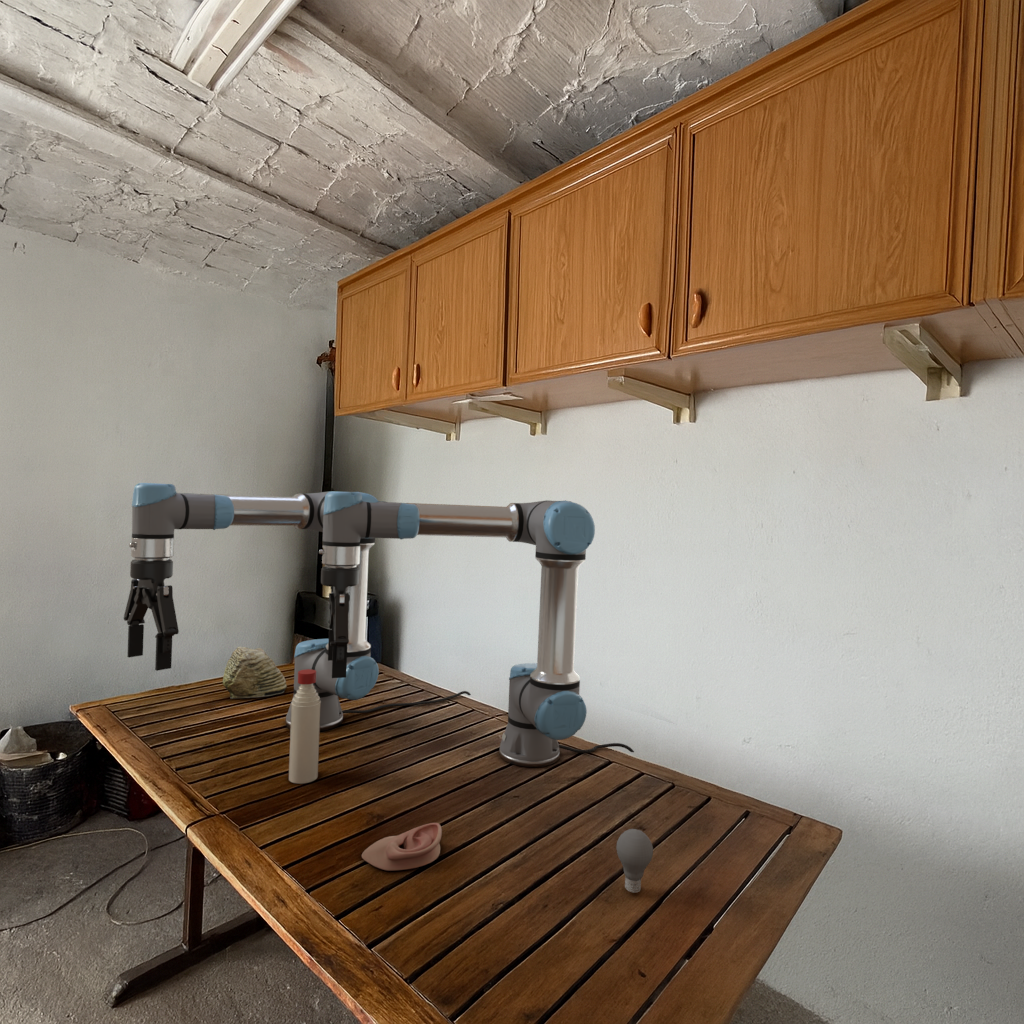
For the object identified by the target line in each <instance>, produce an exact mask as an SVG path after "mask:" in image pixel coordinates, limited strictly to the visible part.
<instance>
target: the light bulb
mask: <svg viewBox="0 0 1024 1024" xmlns="http://www.w3.org/2000/svg"><path fill="white" fill-rule="evenodd" d="M615 849H616V854H617V857H618V859H619V861H620V863H621V865H622V867H623V873H624V874H623V875H624V876H625V878H624V888H625V890H627V891H628V892H630V893H634V894H635V893H639V892H640V891H641V889H642V887H641V886H642V879H643V877H644V875H645V871H646V868H647V867H648V866H649V864H650V863H651V861H652V859H653V855H654V847H653V843H652V841H651V838H649V836H648V835H647V834H646V833H645V832H643V831H642V830H641V829H636V828H629V829H627V830H625V831H623V832H622V833H621V834H620V835H619V837H618V839H617V841H616V847H615Z"/></svg>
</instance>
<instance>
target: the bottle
mask: <svg viewBox="0 0 1024 1024" xmlns="http://www.w3.org/2000/svg"><path fill="white" fill-rule="evenodd" d="M291 702H292V703H291ZM291 702H290V704H291V725H290V729H289V757H288V781H289V782H290V783H293V784H297V785H298V784H308V783H312V782H314V781H316V780H317V779H318V777H319V757H320V756H319V755H320V754H319V753H320V732H321V731H320V707H321V701H320V697H319V696H318V693H317V692H316V689H315V686H313V684H301V685H300V687H299V690H297V693H296V694H295V697H294V698H293V697H292V699H291Z"/></svg>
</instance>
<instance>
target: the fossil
mask: <svg viewBox="0 0 1024 1024" xmlns="http://www.w3.org/2000/svg"><path fill="white" fill-rule="evenodd" d="M222 676H223V677H222V685H223V687H224V688H225V690H226V691H228V693H229V698H230V699H250V698H264V697H271V696H275V695H281V694H284V693H285V691H286V689H287V687H288V686H287V680H286V678H285V676H284V674H283V673H282V672H281V669H279V668H278V667H277V665H276V663H275V662H274V660H273V659H272V658H271V657H270V656H269V655H268V654H267V653H266V652H265V650H264V649H263V648H260V647H258V648H251V647H247V646H246V647H245V646H238V647H237V648H236V649H235V650H233V651H232V653H231V656H230V657H229V659H228V660H227V663H226V666H225V668H224V671H223V675H222Z"/></svg>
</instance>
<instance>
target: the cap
mask: <svg viewBox="0 0 1024 1024" xmlns="http://www.w3.org/2000/svg"><path fill="white" fill-rule="evenodd" d="M315 682H316V670H311V669H306V670H300V671H298V683H299V684H313V683H315Z"/></svg>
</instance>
